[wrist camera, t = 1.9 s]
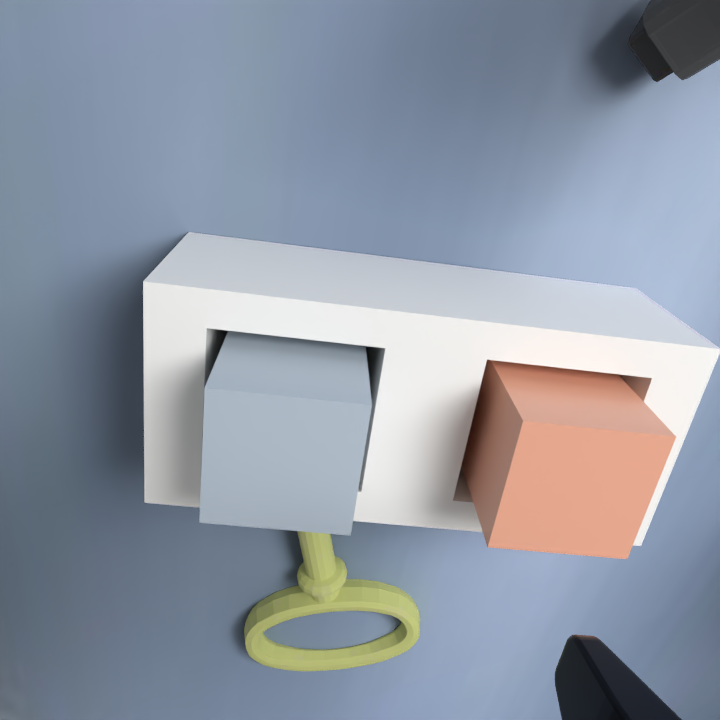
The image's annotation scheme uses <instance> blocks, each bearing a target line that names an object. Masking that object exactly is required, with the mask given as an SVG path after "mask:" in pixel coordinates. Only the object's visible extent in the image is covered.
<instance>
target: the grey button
mask: <svg viewBox="0 0 720 720" xmlns="http://www.w3.org/2000/svg"><path fill="white" fill-rule="evenodd" d="M371 409H372V400H371V391H370V382H369V372H368V363H367V354H366V346H361V345H352V344H344V343H335V342H326V341H317V340H308V339H299V338H290V337H281V336H272V335H263V334H254V333H245V332H237V331H228V333H227V335H226V338H225V340H224V342H223V345H222V347H221V350H220V352H219V354H218V357H217V359H216V362H215V364H214V366H213V369H212V371H211V374H210V376H209V378H208V381H207V383H206V386H205V390H204V415H203V441H202V467H201V493H200V518H199V523H209V524H220V525H232V526H244V527H256V528H268V529H279V530H291V531H303V532H315V533H326V534H338V535H350V536H351V530H352V524H353V518H354V512H355V506H356V500H357V494H358V488H359V482H360V476H361V469H362V463H363V457H364V451H365V445H366V439H367V433H368V427H369V421H370V415H371Z"/></svg>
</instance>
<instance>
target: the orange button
mask: <svg viewBox="0 0 720 720" xmlns="http://www.w3.org/2000/svg"><path fill="white" fill-rule="evenodd" d="M675 439H676V436H675V435H674V434H673V433H672V432H671V430H670V429H669V428H668V427H667V426H666V425H665V424H664V423H663V422H662V421H661V420H660V419H659V418H658V417H657V416H656V414H655V413H654V412H653V411H652V410H651V409H650V408H649V407H648V406H647V405H646V404H645V403H644V402H643V401H642V400H641V398H640V397H639V396H638V395H637V394H636V393H635V392H634V391H633V390H632V389H631V388H630V387H629V386H628V385H627V383H626V382H625V381H624V380H623V379H622V378H621V377H620V376H619V375H618V374H611V373H602V372H593V371H584V370H575V369H566V368H557V367H549V366H540V365H531V364H522V363H513V362H504V361H495V360H487V362H486V366H485V370H484V374H483V378H482V382H481V386H480V391H479V395H478V399H477V403H476V407H475V411H474V415H473V419H472V424H471V428H470V432H469V436H468V440H467V444H466V448H465V452H464V457H463V461H462V468H463V472H464V475H465V478H466V481H467V484H468V487H469V490H470V493H471V496H472V500H473V503H474V506H475V509H476V512H477V515H478V518H479V521H480V525H481V528H482V531H483V534H484V537H485V540H486V543H487V546H488V547H491V548H503V549H515V550H526V551H538V552H550V553H562V554H574V555H585V556H597V557H609V558H621V559H627V558H628V556H629V553H630V551H631V548H632V546H633V543H634V541H635V538H636V536H637V534H638V531H639V529H640V526H641V524H642V521H643V519H644V516H645V514H646V511H647V509H648V506H649V504H650V501H651V499H652V496H653V494H654V491H655V489H656V486H657V484H658V481H659V479H660V476H661V474H662V471H663V469H664V466H665V464H666V461H667V459H668V456H669V454H670V451H671V449H672V446H673V444H674V441H675Z"/></svg>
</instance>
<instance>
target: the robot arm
mask: <svg viewBox="0 0 720 720" xmlns="http://www.w3.org/2000/svg"><path fill="white" fill-rule="evenodd" d="M555 686H556V692H557V697H558V702H559V707H560V712H561V717H562V720H682V719H680V718H679V717H678V716H677V715H676V714H675V713H674V712H673V711H672V710H671V709H670V708H669V707H668V706H667V705H666V704H665V703H664V702H663V701H662V700H661V699H660V698H659V697H658V696H657V695H656V694H655V693H654V692H653V691H652V690H651V689H650V688H649V687H648V686H647V685H646V684H645V683H644V682H643V681H642V680H641V679H640V678H639V677H638V676H637V675H636V674H635V673H634V672H633V671H632V670H630V669H629V668H628V667H627V666H626V665H625V664H624V663H623V662H622V661H621V660H620V659H619V658H618V657H617V656H616V655H615V654H614V653H613V652H612V651H611V650H610V649H609V648H608V647H607V646H606V645H605V644H604V643H603V642H602V641H601V640H600V639H598V638H597V637H594V636H585V635H572V636H570V637H569V638H568V640H567V642H566V645H565V647H564V650H563V652H562V655H561V657H560V660H559V662H558V665H557V668H556V671H555Z"/></svg>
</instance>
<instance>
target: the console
mask: <svg viewBox="0 0 720 720" xmlns="http://www.w3.org/2000/svg"><path fill="white" fill-rule="evenodd" d="M228 331H237V332H245V333H254V334H263V335H272V336H281V337H290V338H299V339H308V340H317V341H326V342H335V343H344V344H352V345H361V346H366V354H367V363H368V372H369V382H370V391H371V400H372V409H371V415H370V421H369V427H368V433H367V439H366V445H365V451H364V457H363V463H362V469H361V476H360V482H359V488H358V494H357V500H356V506H355V512H354V518H353V521H360V522H371V523H383V524H394V525H406V526H417V527H429V528H440V529H452V530H463V531H475V532H483V531H482V528H481V525H480V521H479V518H478V515H477V512H476V509H475V506H474V503H473V500H472V496H471V493H470V490H469V487H468V484H467V481H466V478H465V475H464V472H463V468H462V461H463V457H464V452H465V448H466V444H467V440H468V436H469V432H470V428H471V424H472V419H473V415H474V411H475V407H476V403H477V399H478V395H479V391H480V386H481V382H482V378H483V374H484V370H485V366H486V362H487V360H495V361H504V362H513V363H522V364H531V365H540V366H549V367H557V368H566V369H575V370H584V371H593V372H602V373H611V374H618V375H619V376H620V377H621V378H622V379H623V380H624V381H625V382H626V383H627V385H628V386H629V387H630V388H631V389H632V390H633V391H634V392H635V393H636V394H637V395H638V396H639V397H640V398H641V400H642V401H643V402H644V403H645V404H646V405H647V406H648V407H649V408H650V409H651V410H652V411H653V412H654V413H655V414H656V416H657V417H658V418H659V419H660V420H661V421H662V422H663V423H664V424H665V425H666V426H667V427H668V428H669V429H670V430H671V432H672V433H673V434H674V435H675V436H676V439H675V441H674V444H673V446H672V449H671V451H670V454H669V456H668V459H667V461H666V464H665V466H664V469H663V471H662V474H661V476H660V479H659V481H658V484H657V486H656V489H655V491H654V494H653V496H652V499H651V501H650V504H649V506H648V509H647V511H646V514H645V516H644V519H643V521H642V524H641V526H640V529H639V531H638V534H637V536H636V538H635V541H634V543H633V545H635V546H641V544H642V542H643V539H644V537H645V535H646V532H647V530H648V527H649V525H650V522H651V520H652V517H653V515H654V512H655V510H656V508H657V505H658V503H659V500H660V498H661V495H662V493H663V490H664V488H665V486H666V483H667V481H668V478H669V476H670V473H671V471H672V468H673V466H674V464H675V461H676V459H677V456H678V454H679V451H680V449H681V446H682V444H683V442H684V439H685V437H686V434H687V432H688V429H689V427H690V424H691V422H692V420H693V417H694V415H695V412H696V410H697V407H698V405H699V402H700V400H701V397H702V395H703V393H704V390H705V388H706V385H707V383H708V380H709V378H710V375H711V373H712V371H713V368H714V366H715V363H716V361H717V358H718V356H719V353H720V348H719V347H717V346H716V345H714V344H713V343H712V342H710V341H709V340H707V339H706V338H705V337H703V336H702V335H700V334H699V333H698V332H696V331H695V330H693V329H692V328H691V327H689V326H688V325H686V324H685V323H684V322H682V321H681V320H679V319H678V318H677V317H675V316H674V315H673V314H671V313H670V312H668V311H667V310H666V309H664V308H663V307H661V306H660V305H659V304H657V303H656V302H654V301H653V300H652V299H650V298H649V297H647V296H646V295H645V294H643V293H642V292H640V291H639V290H638V289H636V288H632V287H624V286H616V285H608V284H600V283H592V282H584V281H576V280H568V279H560V278H552V277H544V276H536V275H528V274H520V273H512V272H504V271H496V270H488V269H480V268H472V267H464V266H456V265H448V264H440V263H432V262H424V261H416V260H408V259H400V258H392V257H384V256H376V255H368V254H360V253H352V252H344V251H336V250H328V249H320V248H312V247H304V246H296V245H288V244H280V243H272V242H264V241H256V240H248V239H240V238H232V237H224V236H217V235H209V234H201V233H193V232H188V233H187V234H186V236H185V237H184V238H183V239H182V240H181V241H180V242H179V243H178V244H177V245H176V246H175V247H174V249H173V250H172V251H171V252H170V253H169V254H168V255H167V256H166V257H165V258H164V259H163V260H162V262H161V263H160V264H159V265H158V266H157V267H156V268H155V269H154V270H153V271H152V272H151V273H150V275H149V276H148V277H147V278H146V279H145V280H144V281H143V338H144V503H153V504H165V505H176V506H188V507H199V508H200V493H201V467H202V441H203V415H204V390H205V386H206V383H207V381H208V378H209V376H210V374H211V371H212V369H213V366H214V364H215V362H216V359H217V357H218V354H219V352H220V350H221V347H222V345H223V342H224V340H225V338H226V335H227V333H228Z"/></svg>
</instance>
